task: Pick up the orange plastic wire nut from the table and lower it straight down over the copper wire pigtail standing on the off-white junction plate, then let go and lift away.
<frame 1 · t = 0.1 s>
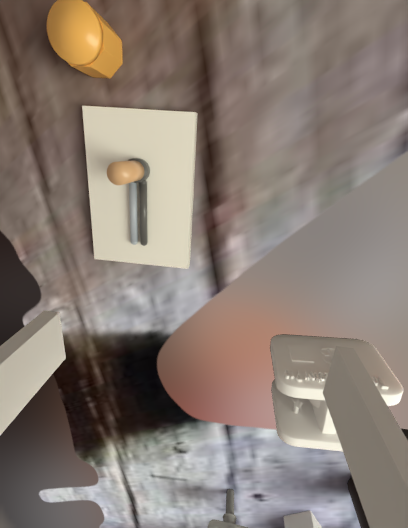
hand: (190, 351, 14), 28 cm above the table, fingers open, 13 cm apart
mechanical component: (230, 490, 60), on the table
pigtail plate: (142, 192, 39), on the table
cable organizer: (314, 358, 46), on the table
bottle: (365, 482, 55), on the table
wire nut: (100, 51, 34), on the table
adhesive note: (302, 520, 61), on the table
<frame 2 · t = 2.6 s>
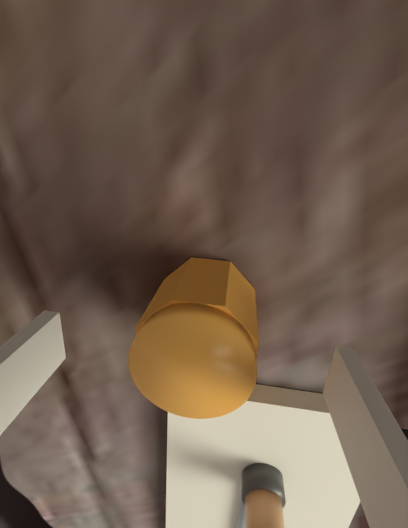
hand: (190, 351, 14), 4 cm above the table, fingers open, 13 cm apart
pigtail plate: (255, 480, 23), on the table
wire nut: (207, 300, 17), on the table
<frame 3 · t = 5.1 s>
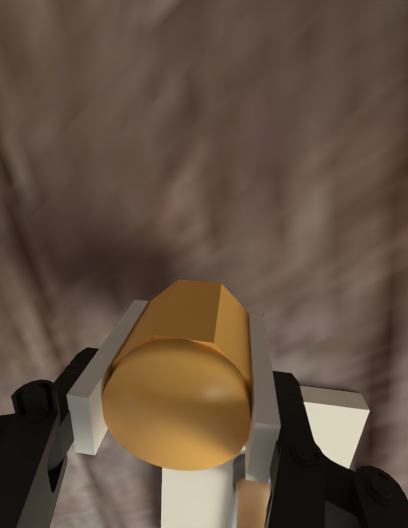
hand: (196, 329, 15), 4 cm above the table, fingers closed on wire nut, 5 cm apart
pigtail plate: (246, 472, 25), on the table
wire nut: (197, 325, 16), point 4 cm above the table, touching gripper
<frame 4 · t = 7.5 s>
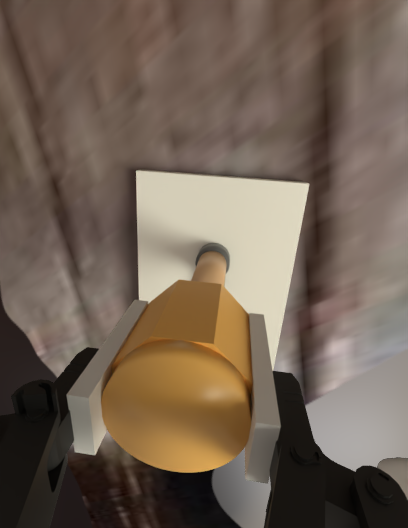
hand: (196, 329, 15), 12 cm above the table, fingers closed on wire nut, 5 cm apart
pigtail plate: (212, 281, 28), on the table
wire nut: (197, 326, 16), point 12 cm above the table, touching gripper
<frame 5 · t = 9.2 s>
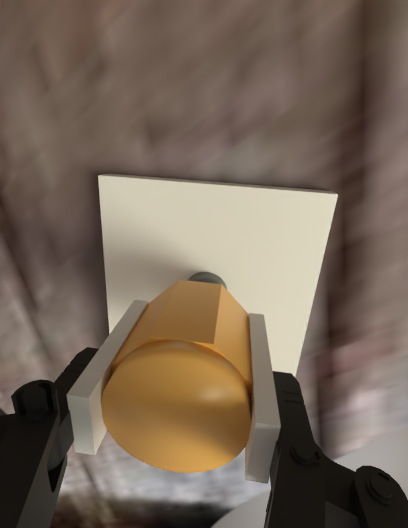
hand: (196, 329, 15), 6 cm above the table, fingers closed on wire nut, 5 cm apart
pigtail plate: (205, 317, 22), on the table
wire nut: (197, 326, 16), point 5 cm above the table, touching gripper
when the fingers open (4 cm above the table, at t = 10.2 s): wire nut stays where it is, resting on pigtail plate.
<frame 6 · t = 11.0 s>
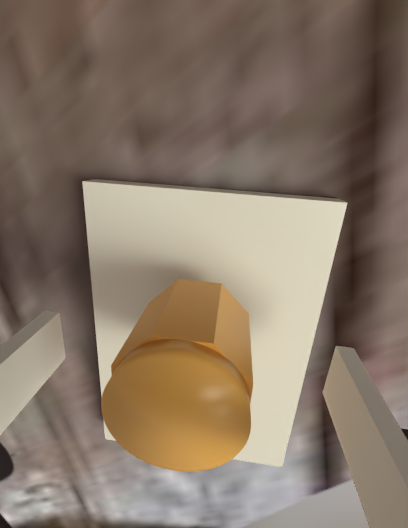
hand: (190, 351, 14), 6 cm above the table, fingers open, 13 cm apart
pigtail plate: (201, 334, 20), on the table
wire nut: (197, 325, 16), point 3 cm above the table, touching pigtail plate
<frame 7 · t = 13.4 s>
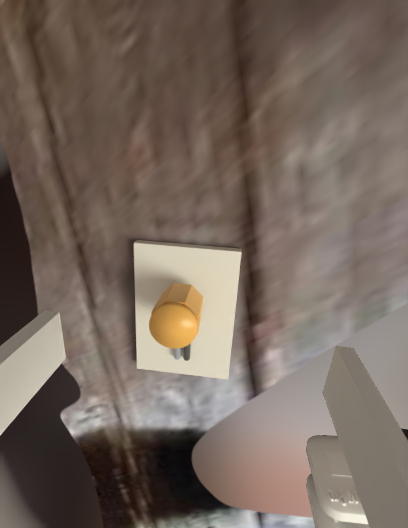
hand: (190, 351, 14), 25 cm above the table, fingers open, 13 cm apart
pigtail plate: (185, 310, 41), on the table
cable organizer: (347, 454, 48), on the table
wire nut: (182, 303, 37), point 3 cm above the table, touching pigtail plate
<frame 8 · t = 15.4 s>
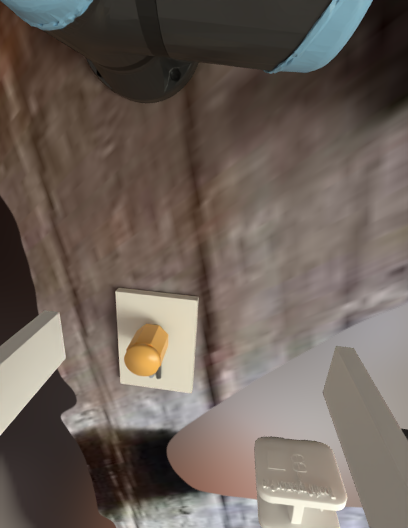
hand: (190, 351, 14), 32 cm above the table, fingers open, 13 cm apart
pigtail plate: (158, 340, 53), on the table
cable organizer: (289, 451, 59), on the table
wire nut: (152, 338, 48), point 3 cm above the table, touching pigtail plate
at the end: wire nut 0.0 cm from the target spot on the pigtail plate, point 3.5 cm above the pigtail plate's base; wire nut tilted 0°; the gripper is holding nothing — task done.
